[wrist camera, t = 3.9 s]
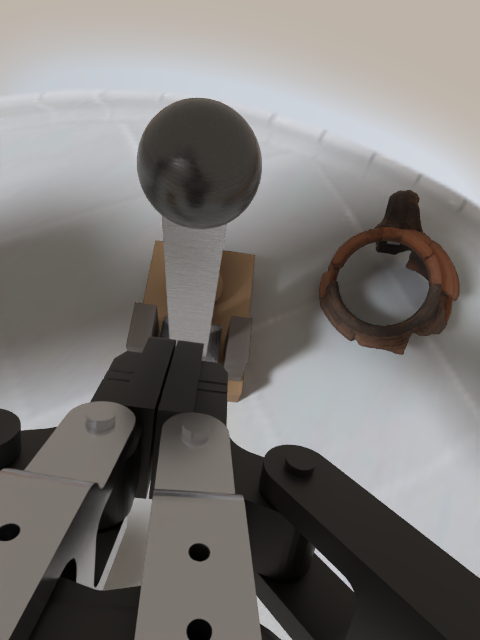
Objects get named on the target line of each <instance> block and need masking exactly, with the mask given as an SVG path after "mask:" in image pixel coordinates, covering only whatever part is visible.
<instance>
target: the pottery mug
mask: <svg viewBox="0 0 480 640" xmlns="http://www.w3.org/2000/svg"><path fill="white" fill-rule="evenodd" d="M418 203H419V197H418V195H417V194H416V193H414V192H413V191H411V190H407V191H398V192H396V193H394V194H392V195H391V196H390V198H389V201H388V205H387V209H386V213H385V217H384V219H383V220H382V222H381V223H380V224H378V225H377V226H376V227H375V228H374V229H370V230H368V231H364V232H362V233H359V234H357V235H355V236H353V237H352V238H350V239H349V240H348V241H347V242H345V243H344V244H343V245H342V246H341V247H340V248H339V249H338V251H337V252H336V254H335V255H334V257H333V259H332V261H331V263H330V265H329V267H328V271H327V272H325V273H324V274H323V275H322V277H321V282H320V289H319V299H320V306H321V308H322V310H323V312H324V313H325V315H326V317H327V318H328V320H329V321H330V322H331V324H332V325H333V326H334V327H335V328H336V330H337V331H339V332H340V333H341V334H342V335H343V336H344V337H345V338H347V339H348V340H350V341H353V340H355V339H356V341H357V342H358V344H359V345H361V346H365V347H369V348H376V349H383V350H387V351H391V352H393V353H396V354H401V355H403V354H404V350H405V348H406V346H407V343H408V340H409V337H410V335H411V334H412V333H416V334H418V335H419V336H428V335H431V334H440V333H441V332H442V330H443V329H444V328H445V327H446V325H447V321H448V319H449V316H450V314H451V308H452V302H453V300H454V301H456V300H457V298H458V297H459V289H460V288H459V279H458V275H457V272H456V270H455V267H454V265H453V263H452V262H451V260H450V258H449V256H448V255H447V253H446V252H445V251H444V250H443V249H442V247H441V246H440V245H439V244H438V243H436V242H434V241H432V240H431V239H430V237H428V236H427V235H426V234H425V233H423V231H422V227H421V222H420V211H419V206H418ZM373 242H376V244H377V246H376V250H377V252H380V253H389V254H393V255H395V254H398V253H401V252H404V251H408V250H411V254H410V256H409V261H408V263H407V265H406V267H407V268H408V269H411V270H413V271H416V272H417V273H419V274H421V275H422V276H423V277H425V278H426V279H427V280H428V282H429V291H428V294H427V297H426V300H425V302H424V303H423V305H422V306H421V308H420V309H419V310H418V311H417V312H416V313H415V314H414V315H413V316H411V317H410V318H408V319H407V320H405V321H403V322H402V323H398V324H394V325H387V326H379V325H372V324H369V323H366V322H364V321H362V320H360V319H358V318H357V317H356V316H355V315H353V314H352V313H351V312H350V311H349V310H348V309H347V308H346V306H345V305H344V303H343V301H342V299H341V296H340V293H339V287H338V282H337V281H336V280H337V275H338V272H339V270H340V269H341V268H342V267H343V266H344V264H345V262H346V261H347V259H348V258H349V257H350V256H351V255H352V254H353V253H354V252H355V251H357V250H358V249H360V248H361V247H363V246H365V245H367V244H370V243H373Z"/></svg>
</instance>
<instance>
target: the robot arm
mask: <svg viewBox="0 0 480 640" xmlns="http://www.w3.org/2000/svg"><path fill="white" fill-rule="evenodd" d="M203 348H204V343H197V342H190V341H182V340H178V342H177V345H176V340H174V339H166V338H159V337H151V336H149V338H148V340H147V342H146V345H145V347H144V349H143V352H142V353H139V352H132V351H126V352H125V353H123V354H121V355H120V356H118V357H116V358H115V359H114V360H113V362H112V364H111V366H110V368H109V371H107V373H106V375H105V376H104V379H103V380H102V382H101V384H100V385H99V387H98V389H97V391H96V393H95V394H94V396H93V398H92V400H91V402H90V403H86V404H82V405H80V406H78V407H76V408H74V409H72V410H71V411H70V412H69V413H68V414H67V415H66V416H65V418H64V419H63V420H62V422H61V423H60V424H59V426H58V427H54V428H47V429H36V430H24V431H21V424H20V420H19V418H18V417H17V416H16V415H15V414H14V413H12V412H10V411H8V410H4V409H0V640H281V639H280V638H278V637H277V636H276V635H275V634H274V633H273V632H271V631H270V630H269V629H267V628H266V627H264V626H263V625H261V624H260V622H259V614H258V606H257V598H256V595H257V597H258V598H259V599H260V600H261V602H262V603H263V604H264V605H265V606H266V608H267V609H268V610H269V611H270V613H271V614H272V615H273V616H274V618H275V619H276V620H277V621H278V622H279V624H280V625H281V626H282V627H283V629H284V630H285V631H286V632H287V634H288V635H289V636H290V637H291V638H292V640H480V578H478V577H477V576H476V575H475V574H473V573H472V572H471V571H469V570H468V569H467V568H466V567H464V566H463V565H462V564H460V563H459V562H458V561H457V560H455V559H454V558H453V557H451V556H450V555H449V554H448V553H446V552H445V551H444V550H442V549H441V548H440V547H439V546H437V545H436V544H435V543H433V542H432V541H431V540H430V539H428V538H427V537H426V536H424V535H423V534H422V533H421V532H419V531H418V530H417V529H415V528H414V527H413V526H412V525H410V524H409V523H408V522H406V521H405V520H404V519H403V518H401V517H400V516H399V515H397V514H396V513H395V512H394V511H392V510H391V509H390V508H388V507H387V506H386V505H385V504H383V503H382V502H381V501H379V500H378V499H377V498H376V497H374V496H373V495H372V494H370V493H369V492H368V491H367V490H365V489H364V488H363V487H361V486H360V485H359V484H358V483H356V482H355V481H354V480H352V479H351V478H350V477H349V476H347V475H346V474H345V473H343V472H342V471H341V470H340V469H338V468H337V467H336V466H334V465H333V464H332V463H331V462H329V461H328V460H327V459H325V458H324V457H323V456H321V455H320V454H318V453H317V452H315V451H313V450H311V449H308V448H305V447H302V446H297V445H281V446H277V447H274V448H272V449H271V450H269V451H268V452H267V453H266V455H265V457H262V456H259V455H256V454H253V453H251V452H248V451H246V450H244V449H242V448H241V447H239V446H238V445H236V444H235V443H234V442H233V441H232V440H231V438H230V437H229V431H228V429H227V427H226V422H227V391H228V386H227V385H228V372H227V371H226V370H225V368H224V367H223V366H222V364H221V363H216V362H208V361H202V356H203ZM150 480H151V483H150ZM149 484H150V493H149V499H152V506H151V514H150V522H149V530H148V538H147V545H146V553H145V561H144V569H143V577H142V585H141V586H137V587H130V588H123V589H115V590H107V591H103V588H104V585H105V583H106V580H107V578H108V575H109V572H110V570H111V567H112V564H113V562H114V559H115V557H116V554H117V551H118V549H119V546H120V544H121V541H122V538H123V536H124V533H125V530H126V527H127V521H128V514H129V512H130V510H131V507H132V504H133V500H134V497H135V498H144V499H146V496H147V492H148V488H149ZM315 548H316V549H317V550H318V551H319V552H320V553H322V554H323V555H324V556H325V557H326V558H327V559H328V560H329V561H330V562H331V563H332V564H333V565H334V566H335V567H336V568H337V569H338V570H339V571H340V572H341V573H342V574H343V575H344V576H345V577H346V578H347V580H348V581H349V583H350V584H351V586H352V588H353V590H354V592H353V591H352V590H351V589H350V588H349V587H348V586H347V585H346V584H345V583H344V582H343V581H342V580H341V579H340V578H339V577H338V576H337V575H336V574H335V573H334V572H333V571H332V570H331V569H330V568H329V567H328V566H327V565H326V564H325V563H324V562H323V561H322V560H321V559H320V558H319V557H318V556H317V555H316V554H315V553H314V550H315Z"/></svg>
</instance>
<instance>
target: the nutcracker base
mask: <svg viewBox="0 0 480 640" xmlns="http://www.w3.org/2000/svg"><path fill="white" fill-rule="evenodd" d="M254 259H255V255H251V254H244V253H238V252H231V251H224V250H223V251H222V258H221V264H220V270H219V277H218V283H217V290H216V296H215V302H214V309H213V315H212V321H211V323H214V324H221V325H222V334H221V342H220V350H219V357H218V363H221V364H222V366H223V367H224V368H225V370H226V371H227V372H228V385H227V386H228V391H227V401H230V402H238V400H239V398H240V396H241V393H242V385H243V374H244V370H245V368H246V366H247V363H248V359H249V348H250V337H251V326H252V318H249V312H250V301H251V291H252V280H253V270H254ZM164 317H168V306H167V290H166V274H165V258H164V242H162V241H155V246H154V251H153V256H152V261H151V266H150V271H149V276H148V281H147V286H146V291H145V296H144V301H143V303H136V302H135V306H134V311H133V315H132V320H131V325H130V330H129V335H128V339H127V344H126V347H127V350H128V351H132V352H139V353H142V352H143V349H144V347H145V345H146V342H147V340H148V338H149V336H151V337H159V338H160V332H161V327H162V323H163V319H164Z"/></svg>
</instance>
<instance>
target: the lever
mask: <svg viewBox="0 0 480 640" xmlns="http://www.w3.org/2000/svg"><path fill="white" fill-rule="evenodd" d="M137 171H138V176H139V181H140V184H141V187H142V189H143V191H144V193H145V195H146V197H147V199H148V200H149V202H150V203H151V204H152V206H153V207H154V208H155V209H156V210H157V211H158V212H159V213H160V214H161V215H162V227H163V242H164V258H165V274H166V290H167V306H168V317H164V319H163V323H162V327H161V332H160V338H166V339H174V340H176V345H177V342H178V340H182V341H190V342H197V343H204V348H203V356H202V361H208V362H216V363H218V357H219V350H220V342H221V334H222V325H221V324H214V323H211V321H212V315H213V309H214V302H215V296H216V290H217V283H218V277H219V270H220V264H221V258H222V251H223V245H224V238H225V232H226V226H227V223H229V222H231V221H232V220H234V219H235V218H237V217H238V216H239V215H240V214H241V213H242V212H244V210H245V209H246V208H247V207H248V206H249V204H250V203H251V201H252V200H253V198H254V196H255V194H256V192H257V189H258V187H259V184H260V179H261V173H262V158H261V151H260V147H259V144H258V141H257V139H256V136H255V134H254V132H253V130H252V129H251V127H250V126H249V124H248V123H247V122H246V121H245V119H244V118H243V117H242V116H241V115H240V114H238V113H237V112H236V111H235V110H233V109H232V108H231V107H229V106H227V105H225V104H223V103H221V102H218V101H215V100H211V99H206V98H189V99H184V100H180V101H177V102H175V103H173V104H171V105H169V106H167V107H165V108H164V109H162V110H161V111H160V112H159V113H158V114H157V115H156V116H155V117H154V118H153V119H152V120H151V121H150V123H149V124H148V126H147V127H146V129H145V131H144V132H143V135H142V137H141V140H140V143H139V147H138V153H137Z"/></svg>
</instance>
